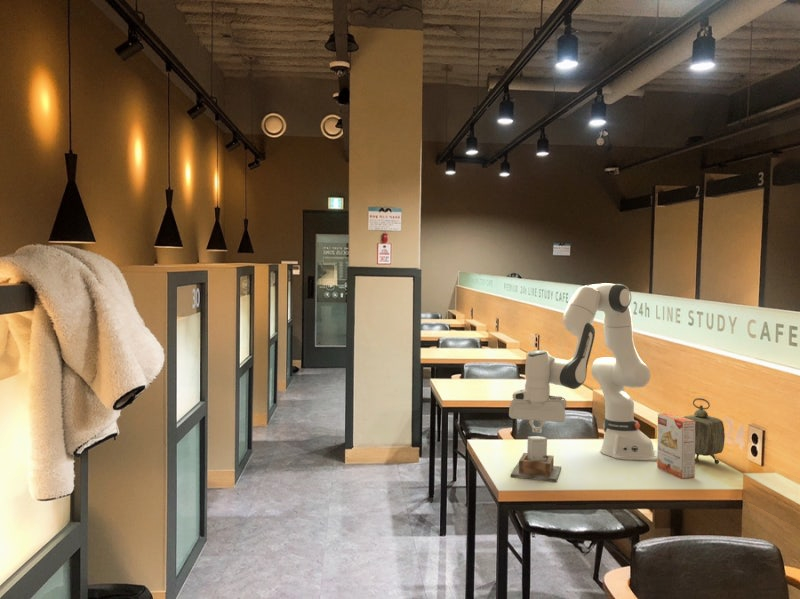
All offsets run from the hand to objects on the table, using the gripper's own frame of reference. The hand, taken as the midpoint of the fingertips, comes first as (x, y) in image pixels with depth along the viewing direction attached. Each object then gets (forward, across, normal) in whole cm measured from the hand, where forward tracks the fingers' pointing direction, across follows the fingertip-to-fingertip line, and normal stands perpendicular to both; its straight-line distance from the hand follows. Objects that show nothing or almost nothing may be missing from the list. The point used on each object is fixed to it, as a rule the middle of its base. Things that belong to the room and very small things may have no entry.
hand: (536, 432), depth 226 cm
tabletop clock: (+15, -58, -38) cm, 71 cm away
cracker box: (+15, -48, -19) cm, 54 cm away
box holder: (+15, 0, 0) cm, 15 cm away
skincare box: (+14, 0, 0) cm, 14 cm away
